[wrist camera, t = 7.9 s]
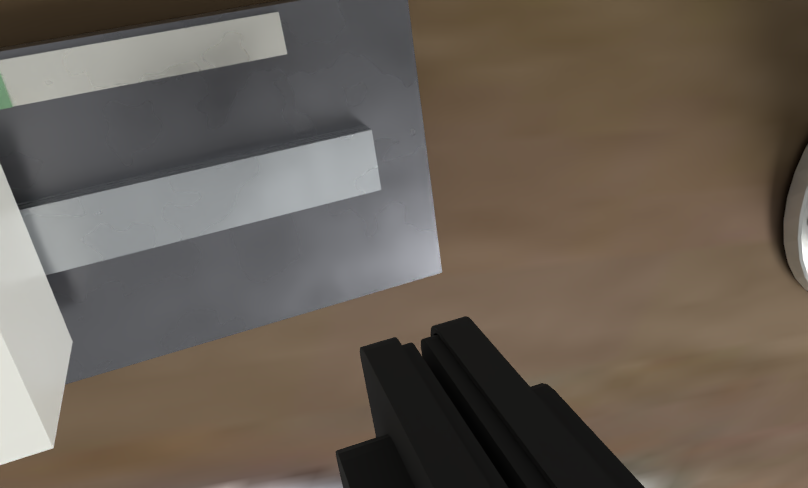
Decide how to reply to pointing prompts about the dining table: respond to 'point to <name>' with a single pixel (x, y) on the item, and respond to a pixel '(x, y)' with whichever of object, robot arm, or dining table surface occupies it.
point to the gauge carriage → (27, 341)
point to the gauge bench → (218, 171)
